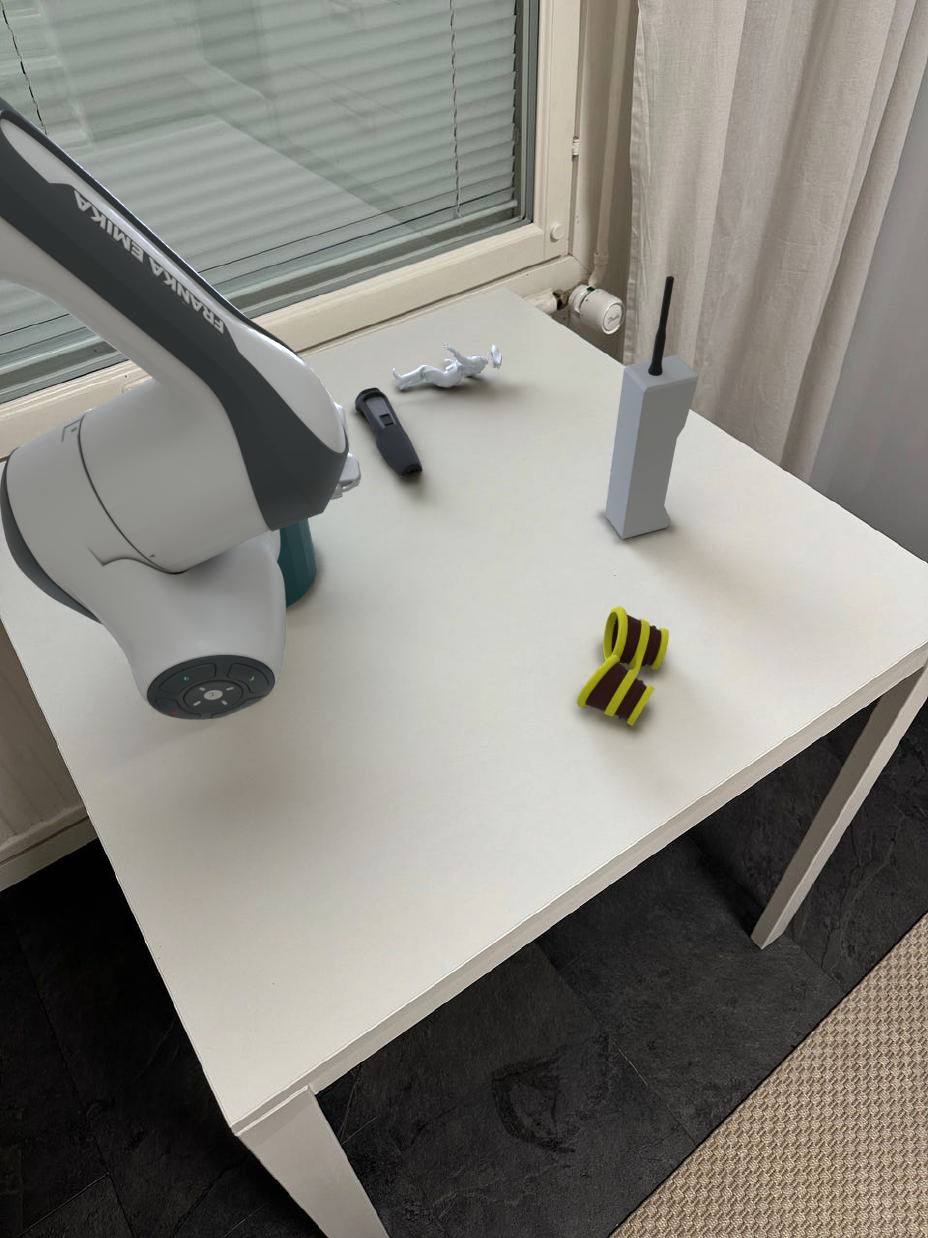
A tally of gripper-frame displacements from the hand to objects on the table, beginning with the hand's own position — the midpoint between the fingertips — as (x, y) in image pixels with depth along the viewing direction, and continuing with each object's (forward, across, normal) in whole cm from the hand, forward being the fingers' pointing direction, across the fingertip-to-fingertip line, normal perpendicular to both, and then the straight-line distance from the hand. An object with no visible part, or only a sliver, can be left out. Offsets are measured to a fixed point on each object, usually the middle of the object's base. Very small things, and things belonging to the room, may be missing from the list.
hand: (210, 398), depth 69 cm
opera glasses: (-20, -29, +18) cm, 40 cm away
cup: (-1, 0, +18) cm, 18 cm away
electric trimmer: (+17, -15, +18) cm, 29 cm away
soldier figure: (+26, -23, +18) cm, 39 cm away
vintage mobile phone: (-2, -37, +18) cm, 41 cm away
